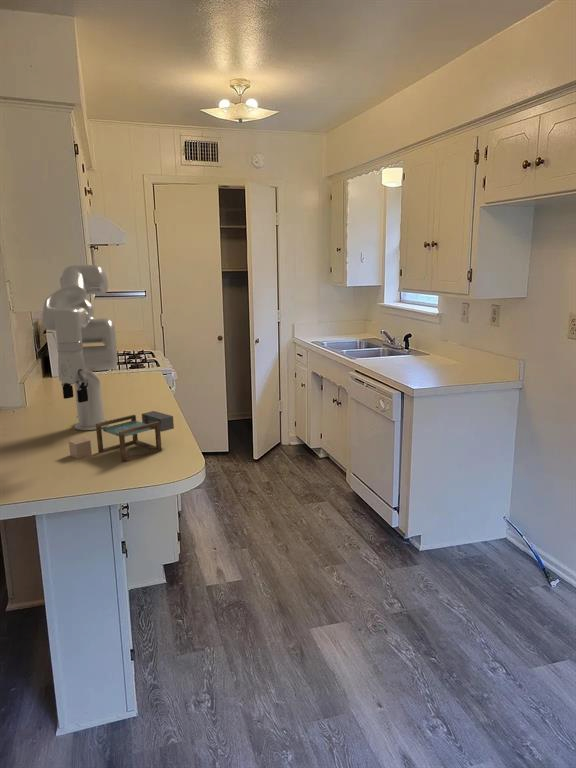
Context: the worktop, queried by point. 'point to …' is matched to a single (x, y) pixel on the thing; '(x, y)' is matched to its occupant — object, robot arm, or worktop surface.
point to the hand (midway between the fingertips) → (75, 399)
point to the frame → (135, 440)
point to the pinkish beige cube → (80, 448)
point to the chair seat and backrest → (143, 423)
